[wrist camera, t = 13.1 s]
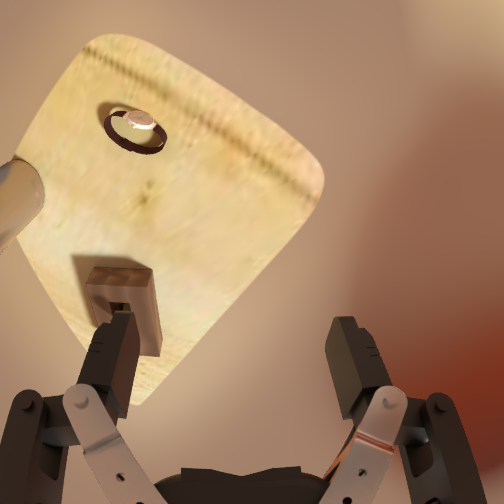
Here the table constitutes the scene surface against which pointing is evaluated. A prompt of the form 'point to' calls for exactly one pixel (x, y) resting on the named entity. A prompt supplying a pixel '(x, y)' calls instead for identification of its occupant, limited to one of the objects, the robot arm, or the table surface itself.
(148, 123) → the watch
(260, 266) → the table surface
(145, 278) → the slot stand
